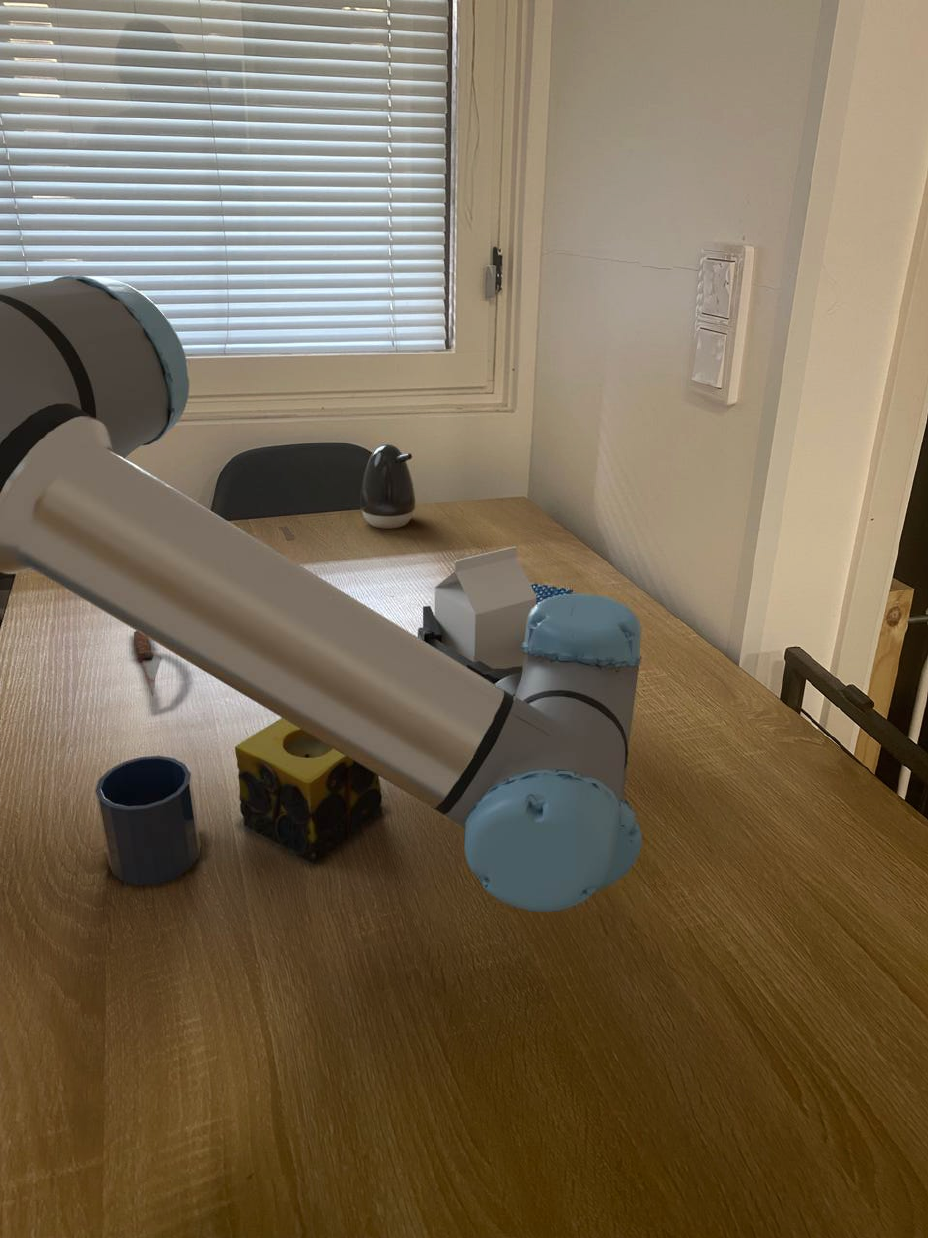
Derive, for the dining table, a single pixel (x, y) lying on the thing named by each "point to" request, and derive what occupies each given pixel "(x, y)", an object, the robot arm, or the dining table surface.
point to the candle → (303, 791)
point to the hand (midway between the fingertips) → (474, 614)
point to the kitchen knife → (147, 658)
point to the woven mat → (547, 592)
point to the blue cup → (149, 819)
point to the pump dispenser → (387, 489)
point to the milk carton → (486, 608)
